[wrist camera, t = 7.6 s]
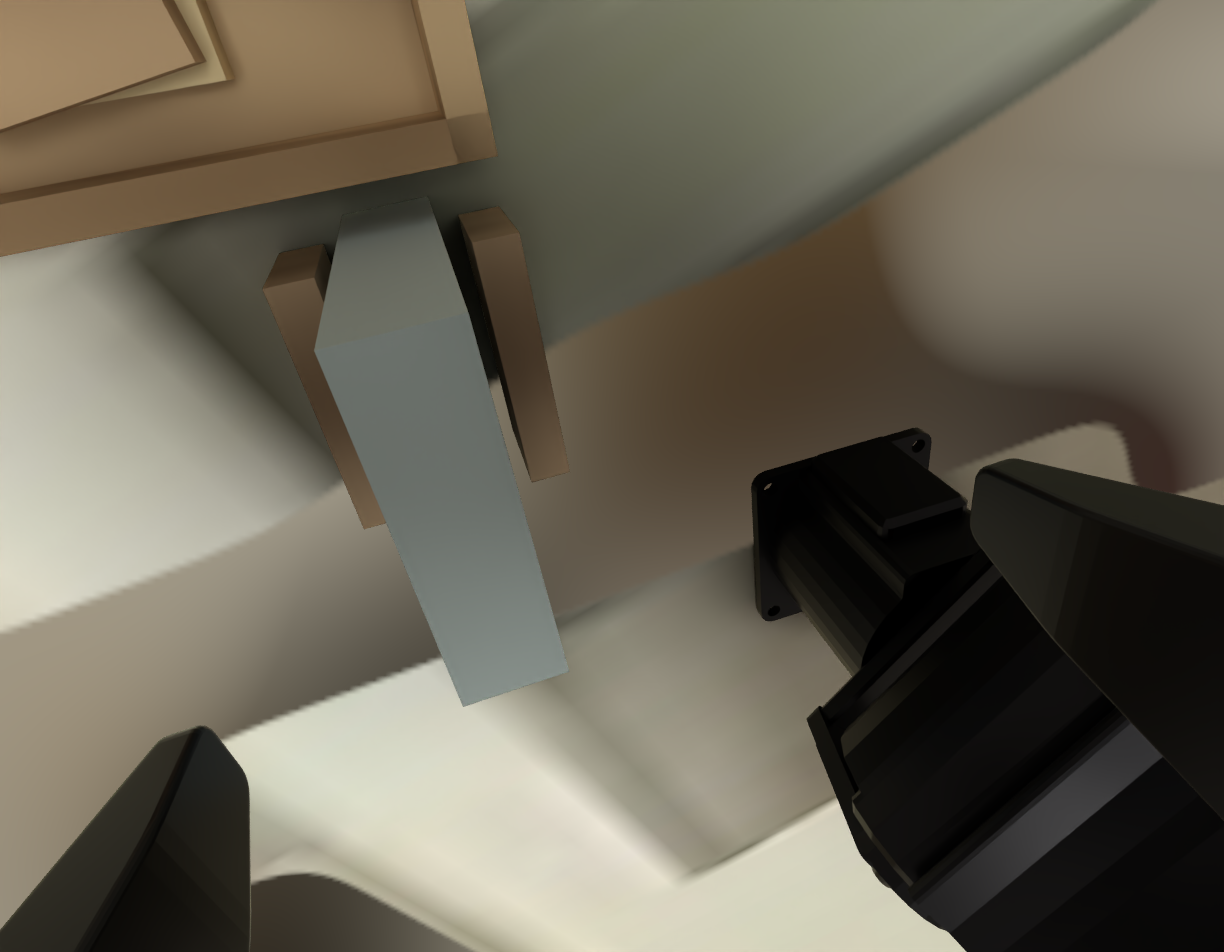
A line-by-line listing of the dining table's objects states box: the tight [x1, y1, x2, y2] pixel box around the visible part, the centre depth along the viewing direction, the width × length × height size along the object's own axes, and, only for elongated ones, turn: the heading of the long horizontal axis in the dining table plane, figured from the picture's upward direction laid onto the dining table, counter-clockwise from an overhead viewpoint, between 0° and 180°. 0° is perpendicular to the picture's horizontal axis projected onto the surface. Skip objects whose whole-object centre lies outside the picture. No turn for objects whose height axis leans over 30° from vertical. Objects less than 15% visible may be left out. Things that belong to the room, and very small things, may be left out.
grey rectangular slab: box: [314, 196, 569, 707], centre depth 15 cm, size 7×2×9 cm, turn 10°
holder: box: [263, 206, 570, 529], centre depth 17 cm, size 6×5×3 cm
